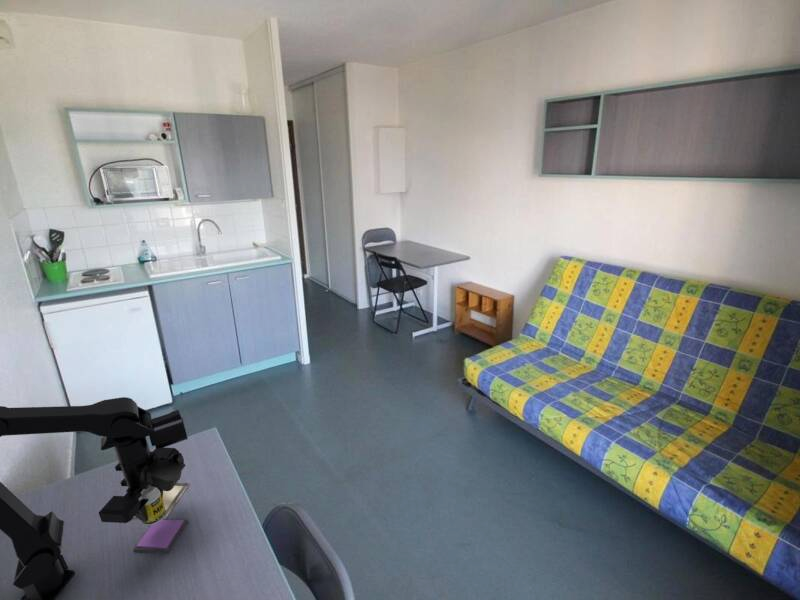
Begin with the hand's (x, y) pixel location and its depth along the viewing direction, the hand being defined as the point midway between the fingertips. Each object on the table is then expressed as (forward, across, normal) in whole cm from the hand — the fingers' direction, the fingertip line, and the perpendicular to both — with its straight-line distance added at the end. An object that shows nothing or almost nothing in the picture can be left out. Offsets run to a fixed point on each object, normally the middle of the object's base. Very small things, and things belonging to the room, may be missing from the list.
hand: (152, 511), depth 95 cm
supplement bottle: (+2, 0, 0) cm, 2 cm away
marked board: (+8, +10, +7) cm, 15 cm away
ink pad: (+8, 0, 0) cm, 8 cm away
